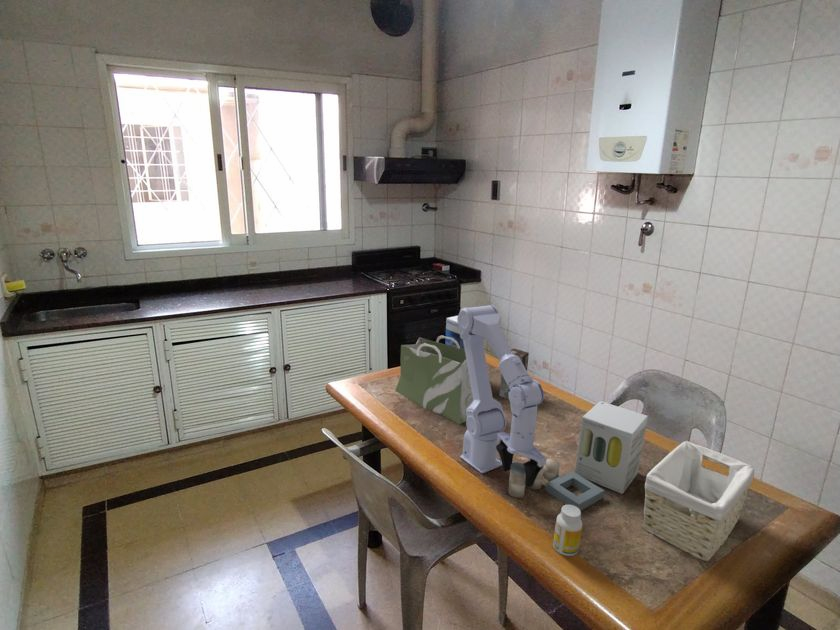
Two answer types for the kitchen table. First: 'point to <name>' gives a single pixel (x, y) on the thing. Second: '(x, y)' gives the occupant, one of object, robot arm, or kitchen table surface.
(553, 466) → the short pin
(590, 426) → the supplement box
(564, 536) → the supplement bottle
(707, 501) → the storage basket
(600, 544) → the kitchen table surface
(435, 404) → the grocery bag
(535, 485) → the medium pin
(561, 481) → the collar block
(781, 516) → the kitchen table surface
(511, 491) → the long pin
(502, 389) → the coffee box
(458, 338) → the string lights box
